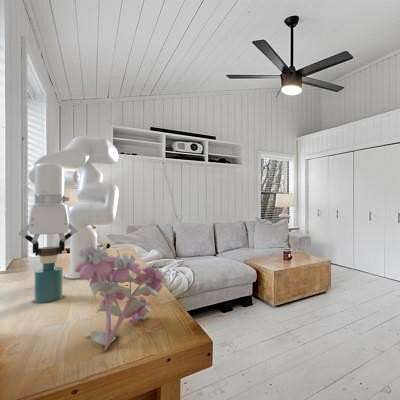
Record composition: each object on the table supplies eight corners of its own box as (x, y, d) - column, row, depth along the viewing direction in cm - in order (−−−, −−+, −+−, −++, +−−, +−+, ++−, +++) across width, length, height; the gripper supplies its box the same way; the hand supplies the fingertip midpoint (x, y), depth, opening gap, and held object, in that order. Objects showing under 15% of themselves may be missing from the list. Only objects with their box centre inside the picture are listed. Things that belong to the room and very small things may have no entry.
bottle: (50, 294, 103) (50, 252, 103) (67, 296, 102) (68, 253, 102) (28, 302, 96) (28, 256, 96) (47, 303, 95) (47, 257, 94)
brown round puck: (50, 253, 101) (50, 246, 101) (62, 253, 101) (63, 246, 101) (34, 255, 96) (34, 248, 96) (47, 256, 95) (47, 249, 95)
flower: (188, 330, 74) (179, 236, 83) (78, 355, 57) (82, 235, 66) (156, 341, 85) (151, 258, 94) (57, 364, 69) (62, 261, 78)
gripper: (80, 200, 107) (79, 250, 107) (15, 200, 96) (14, 255, 96) (82, 200, 101) (81, 253, 101) (12, 200, 90) (12, 259, 90)
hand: (48, 253), depth 98 cm, fingers open, 5 cm apart
